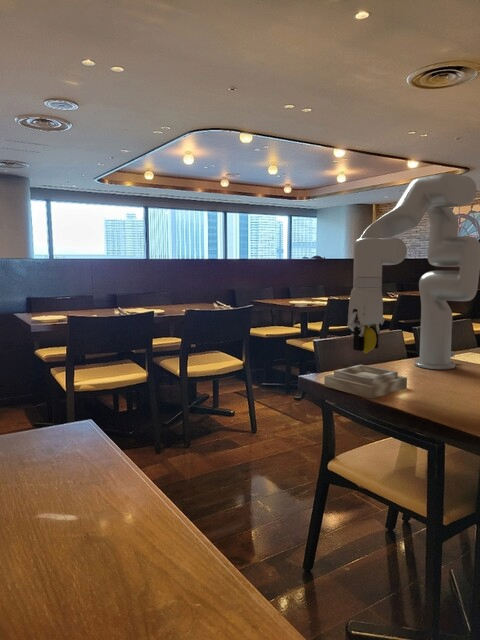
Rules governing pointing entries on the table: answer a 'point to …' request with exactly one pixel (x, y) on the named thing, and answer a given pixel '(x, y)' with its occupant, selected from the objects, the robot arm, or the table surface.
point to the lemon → (369, 339)
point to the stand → (366, 381)
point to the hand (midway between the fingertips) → (365, 348)
